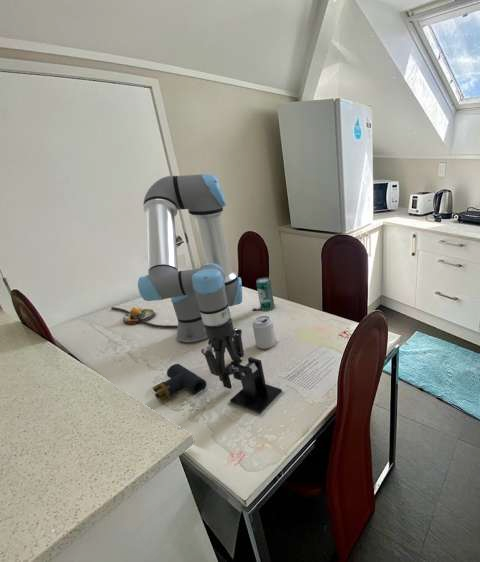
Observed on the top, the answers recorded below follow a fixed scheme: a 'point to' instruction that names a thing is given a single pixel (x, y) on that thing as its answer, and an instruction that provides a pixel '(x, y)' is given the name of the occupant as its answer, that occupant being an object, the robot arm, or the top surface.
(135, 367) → the top surface
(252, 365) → the tap lever
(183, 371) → the pipe connector
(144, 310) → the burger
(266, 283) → the can
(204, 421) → the top surface
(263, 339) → the can
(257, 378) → the bracket
